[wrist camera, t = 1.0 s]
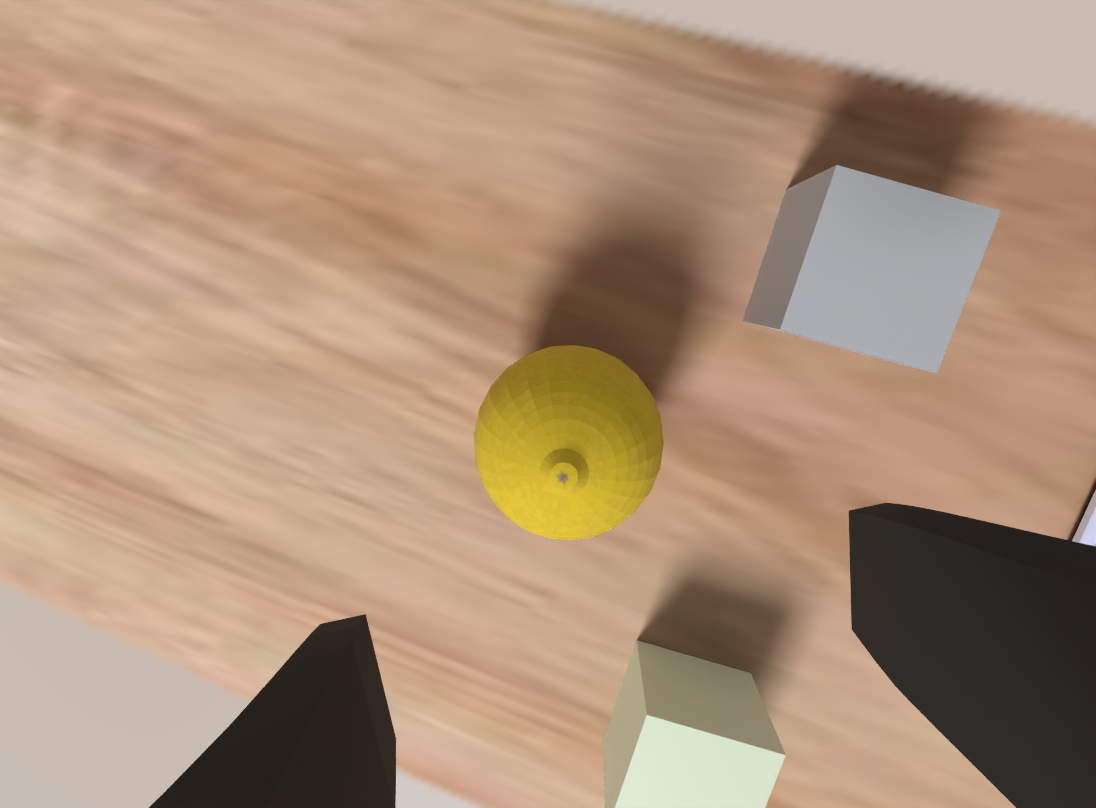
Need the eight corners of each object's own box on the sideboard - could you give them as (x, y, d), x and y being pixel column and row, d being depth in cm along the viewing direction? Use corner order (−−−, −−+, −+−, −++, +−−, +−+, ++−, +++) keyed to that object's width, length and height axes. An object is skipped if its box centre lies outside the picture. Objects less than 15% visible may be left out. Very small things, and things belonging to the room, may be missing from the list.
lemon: (473, 365, 23) (414, 405, 15) (621, 314, 23) (639, 328, 15) (525, 506, 24) (494, 613, 16) (669, 461, 23) (711, 548, 16)
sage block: (750, 671, 25) (785, 755, 20) (713, 771, 26) (739, 872, 21) (636, 639, 25) (646, 714, 20) (602, 739, 26) (605, 833, 21)
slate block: (916, 226, 22) (1001, 210, 17) (868, 356, 22) (937, 373, 18) (785, 189, 22) (836, 164, 17) (742, 320, 23) (780, 329, 18)
